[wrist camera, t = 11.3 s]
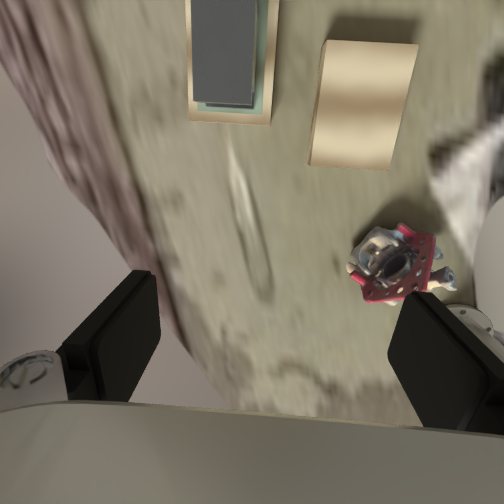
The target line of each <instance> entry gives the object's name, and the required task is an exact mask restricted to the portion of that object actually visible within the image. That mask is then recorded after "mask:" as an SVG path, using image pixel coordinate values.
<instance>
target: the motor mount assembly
mask: <svg viewBox="0 0 504 504" xmlns="http://www.w3.org/2000/svg"><path fill="white" fill-rule="evenodd" d="M350 256H351V257H352V258H353V259H354V261H355V262H356V265H357V266H355V265H353V264H351V263H348V264H347V265H346V268H347V271H348V272H349V273H350V277H351V278H352V279H353V280H355V281H357V282H358V283H359V284H360V285H361V290H362V294H363V298H364V300H365V301H366V302H367V303H371V302H373V303H377V302H385V303H387V304H388V305H390V306H394V305H396V304H397V303H398V300H404V299H405V297H406V295H408V294H410V293H411V292H412V291H422V292H432V291H433V289H434V288H435V287H439V286H443V287H445V288H446V289H447V290H449V291H455V290H457V288H455V287H454V286H455V284H456V281H457V278H456V276H455V274H454V273H453V271H452V270H451V269H450V268H449V267H447V266H446V267H444V268H442V269H439V270H437V271H435V272H434V271H433V270H432V269H431V266H432V263H433V259H437V260H441V259H442V258H443V254H442V253H441V250H440V249H439V248H438V247H437V246H436V238H435V236H434V235H433V234H429V233H424V232H417V231H413V230H411V229H410V228H409V227H408V226H406V225H405V224H404V223H399V224H398V225H397V227H396V228H395V229H394V230H388V229H386V228H381V227H378V226H376V227H374V228H373V229H372V230H371V231H370V232H369V233H368V234H367V235H366V237H365V238H364V239H363V241H362V242H361V243H360V244H359V245H358V246H357V247H355V248H354V249H353V251H352V252H351V254H350Z"/></svg>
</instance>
